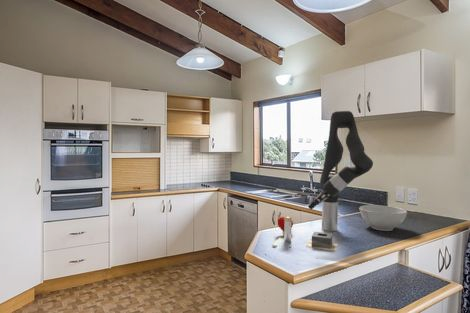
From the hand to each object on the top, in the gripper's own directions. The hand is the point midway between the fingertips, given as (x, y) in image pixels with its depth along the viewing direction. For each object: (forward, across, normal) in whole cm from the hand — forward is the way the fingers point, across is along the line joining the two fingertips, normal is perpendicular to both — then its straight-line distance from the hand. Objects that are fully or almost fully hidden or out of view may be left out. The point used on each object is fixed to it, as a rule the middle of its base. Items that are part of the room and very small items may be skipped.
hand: (310, 206), depth 154 cm
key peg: (+22, 0, +6) cm, 23 cm away
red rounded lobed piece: (+26, -16, +3) cm, 31 cm away
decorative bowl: (-10, -57, +40) cm, 70 cm away
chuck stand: (+11, -2, +18) cm, 21 cm away
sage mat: (+23, 0, +6) cm, 23 cm away
